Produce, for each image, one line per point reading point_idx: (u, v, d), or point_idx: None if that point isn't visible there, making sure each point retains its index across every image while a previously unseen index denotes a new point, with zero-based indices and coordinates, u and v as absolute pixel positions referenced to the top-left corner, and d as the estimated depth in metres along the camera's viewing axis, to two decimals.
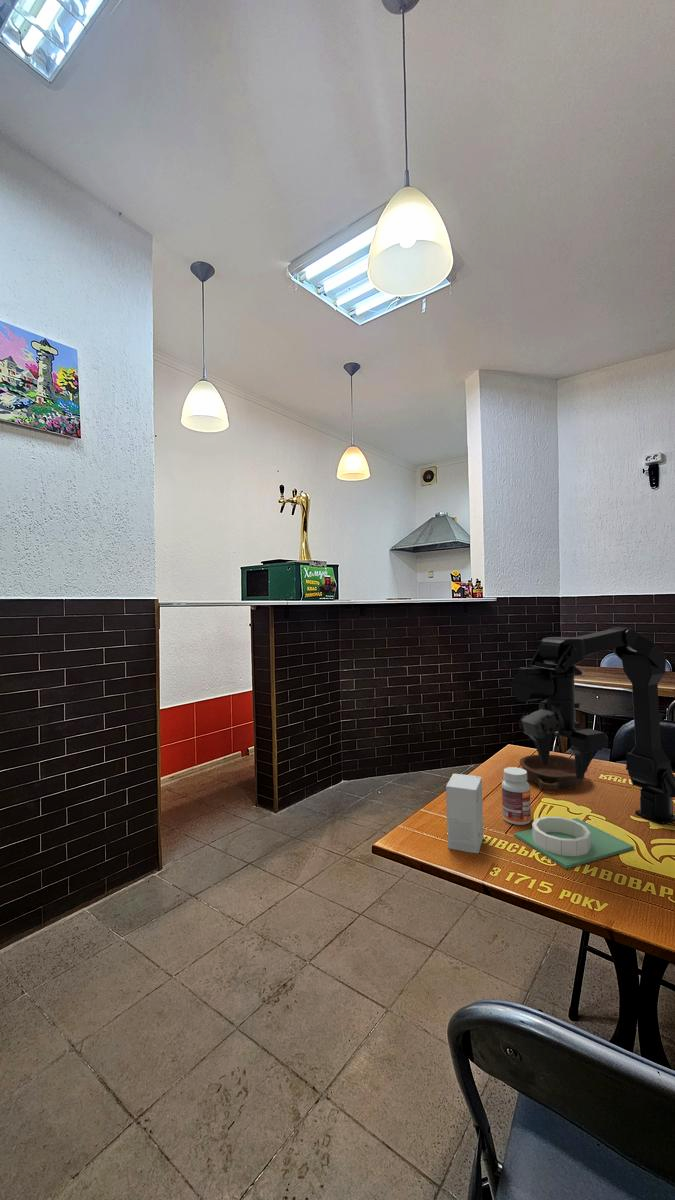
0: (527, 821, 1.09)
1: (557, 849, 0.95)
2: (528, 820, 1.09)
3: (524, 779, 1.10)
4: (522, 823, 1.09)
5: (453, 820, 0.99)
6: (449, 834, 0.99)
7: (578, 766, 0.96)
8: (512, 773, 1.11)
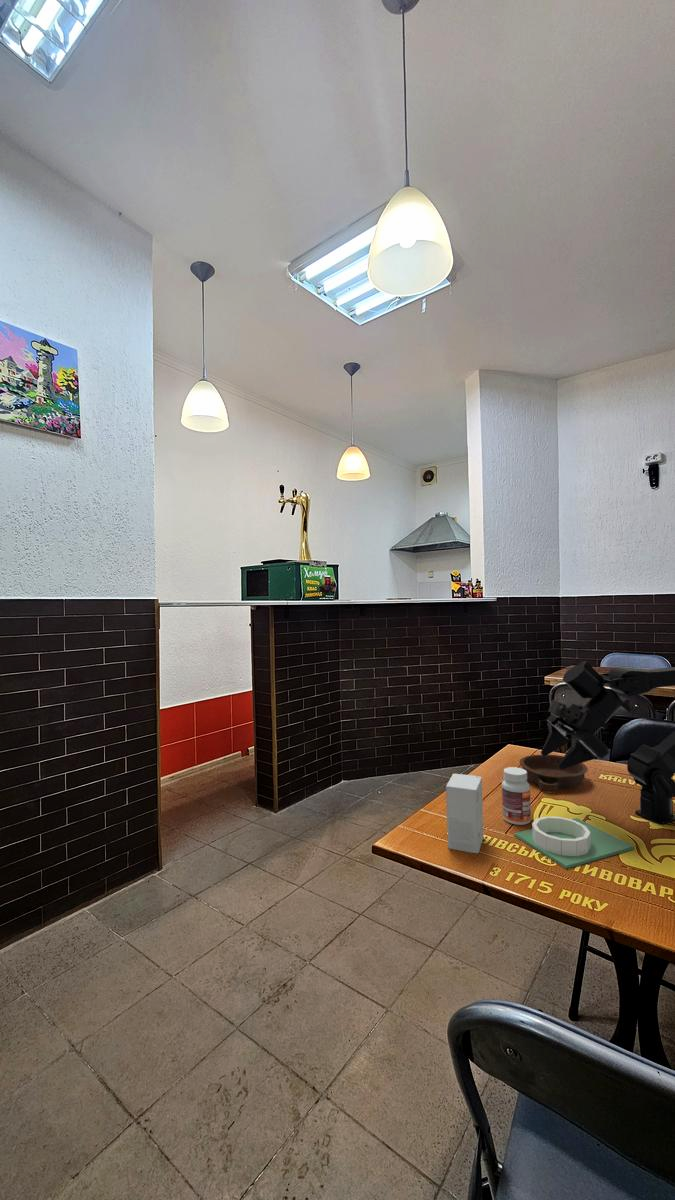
0: (527, 821, 1.09)
1: (557, 849, 0.95)
2: (528, 820, 1.09)
3: (524, 779, 1.10)
4: (522, 823, 1.09)
5: (453, 820, 0.99)
6: (449, 834, 0.99)
7: (566, 756, 1.06)
8: (512, 773, 1.11)
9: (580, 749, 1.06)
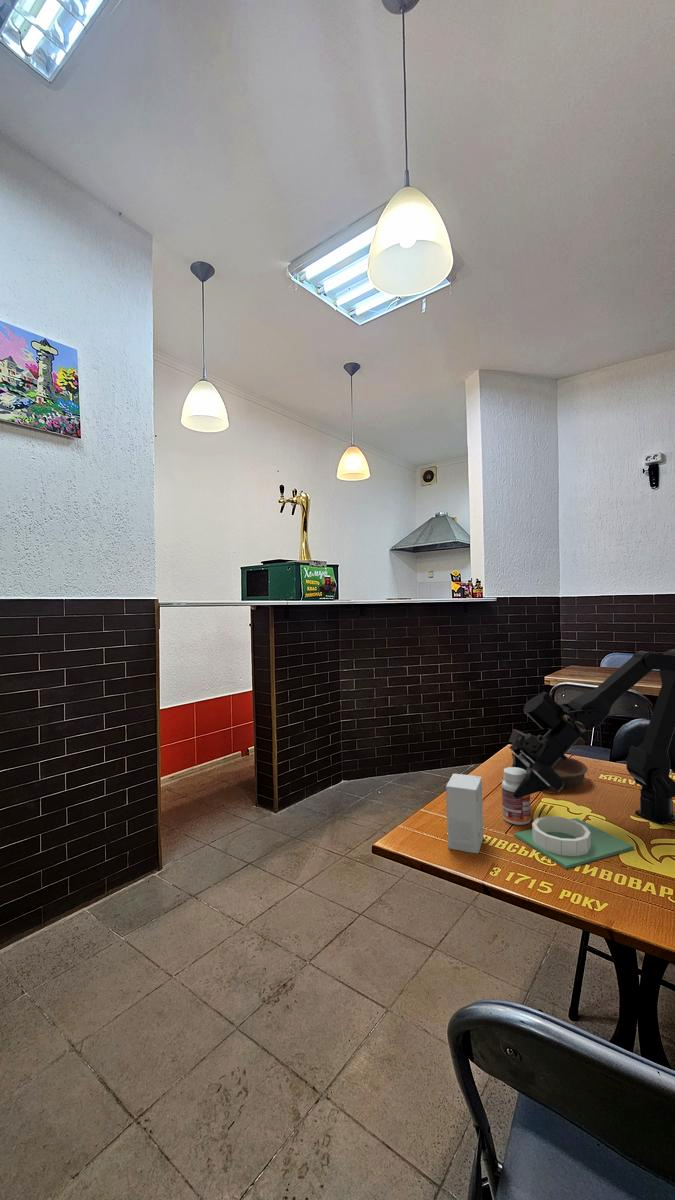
0: (527, 821, 1.09)
1: (557, 849, 0.95)
2: (528, 820, 1.09)
3: None
4: (522, 823, 1.09)
5: (453, 820, 0.99)
6: (449, 834, 0.99)
7: (521, 785, 1.08)
8: (512, 772, 1.11)
9: (535, 779, 1.08)
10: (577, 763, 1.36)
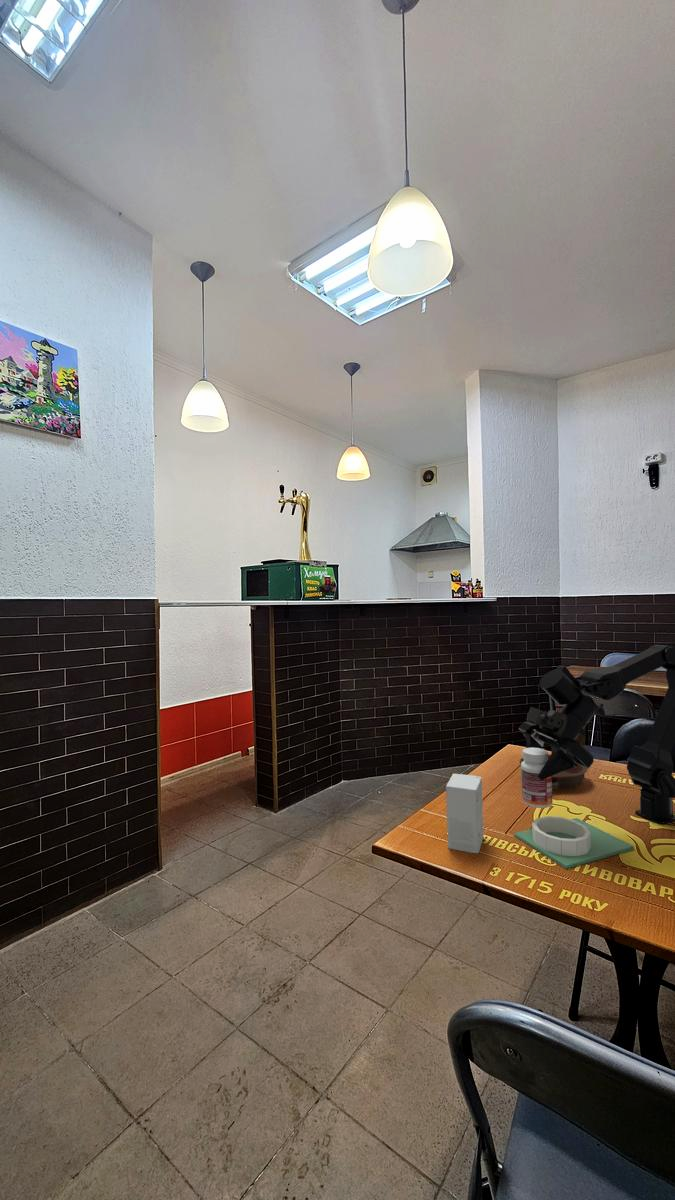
0: (550, 803, 1.03)
1: (557, 849, 0.95)
2: (551, 802, 1.03)
3: (547, 759, 1.03)
4: (546, 805, 1.02)
5: (453, 820, 0.99)
6: (449, 834, 0.99)
7: (547, 766, 1.01)
8: (534, 753, 1.04)
9: (560, 757, 1.01)
10: (577, 763, 1.36)
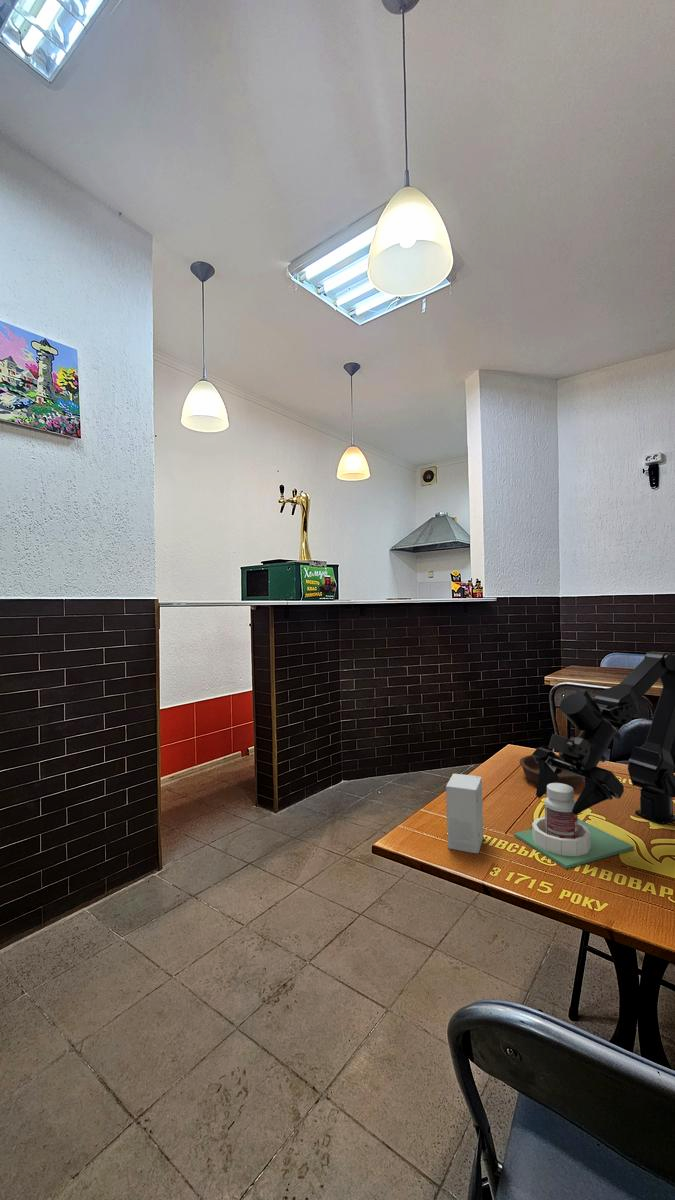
0: None
1: (557, 849, 0.95)
2: None
3: (573, 796, 0.98)
4: None
5: (453, 820, 0.99)
6: (449, 834, 0.99)
7: (581, 799, 0.95)
8: (561, 790, 0.98)
9: (593, 789, 0.96)
10: None
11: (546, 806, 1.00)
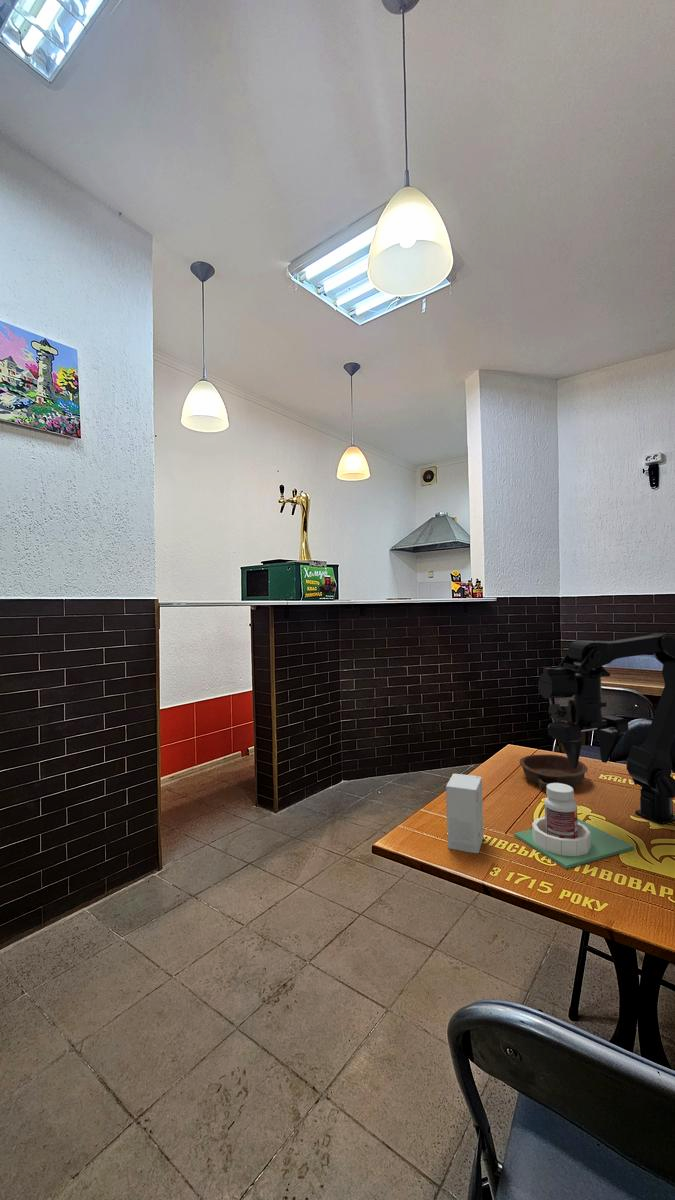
0: None
1: (557, 849, 0.95)
2: None
3: (573, 796, 0.98)
4: None
5: (453, 820, 0.99)
6: (449, 834, 0.99)
7: None
8: (561, 790, 0.98)
9: None
10: None
11: (546, 806, 1.00)
